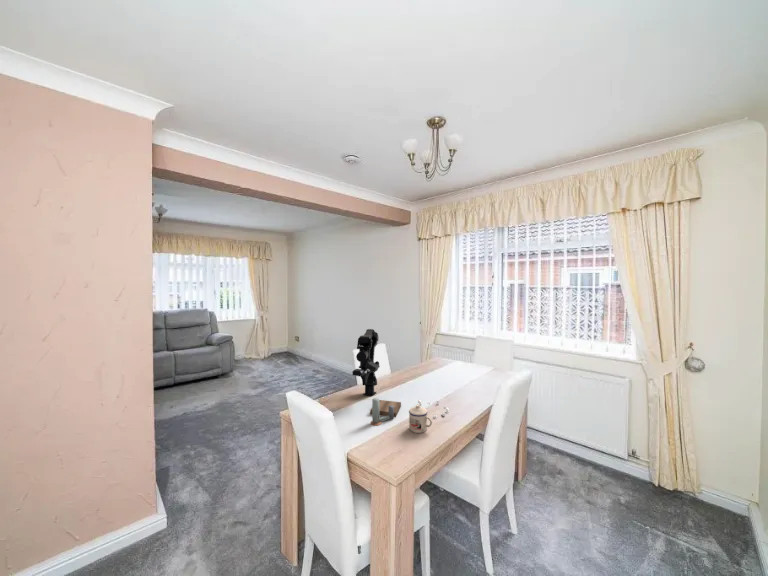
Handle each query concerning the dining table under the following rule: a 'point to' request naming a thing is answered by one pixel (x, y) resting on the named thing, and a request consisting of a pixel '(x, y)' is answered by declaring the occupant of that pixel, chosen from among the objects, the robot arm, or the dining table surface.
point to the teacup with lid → (418, 419)
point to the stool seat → (386, 409)
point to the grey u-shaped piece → (376, 412)
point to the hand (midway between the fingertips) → (365, 383)
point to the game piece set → (437, 404)
